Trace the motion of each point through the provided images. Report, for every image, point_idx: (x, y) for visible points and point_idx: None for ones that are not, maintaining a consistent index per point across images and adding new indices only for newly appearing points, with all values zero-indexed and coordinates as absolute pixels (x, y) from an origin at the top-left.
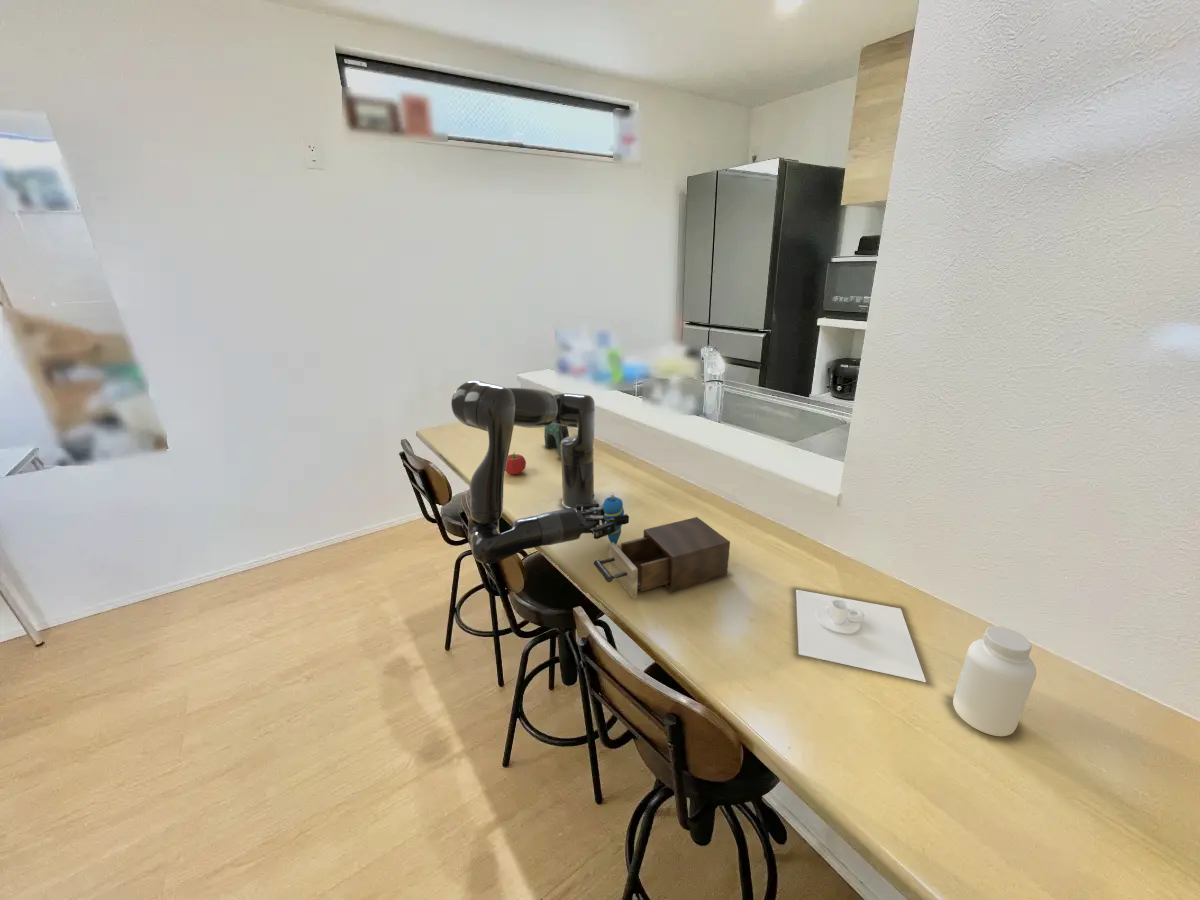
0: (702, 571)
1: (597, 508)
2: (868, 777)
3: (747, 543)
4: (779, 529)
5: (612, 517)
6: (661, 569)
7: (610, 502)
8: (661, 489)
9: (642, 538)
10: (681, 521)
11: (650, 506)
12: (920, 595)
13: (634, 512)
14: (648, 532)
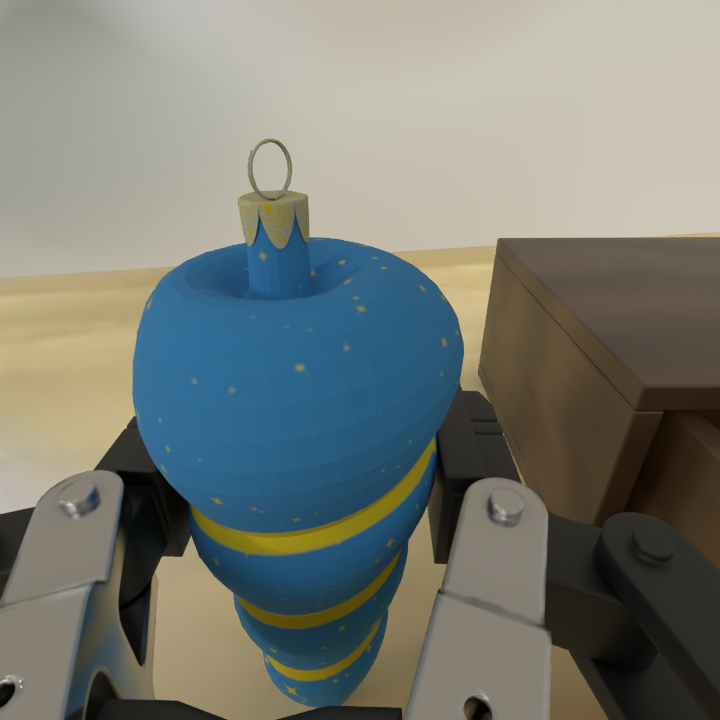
0: None
1: (46, 577)
2: None
3: (484, 295)
4: (440, 254)
5: (493, 493)
6: None
7: (361, 297)
8: (51, 311)
9: (718, 448)
10: (533, 265)
11: (105, 366)
12: (700, 236)
13: (77, 421)
14: (695, 378)
